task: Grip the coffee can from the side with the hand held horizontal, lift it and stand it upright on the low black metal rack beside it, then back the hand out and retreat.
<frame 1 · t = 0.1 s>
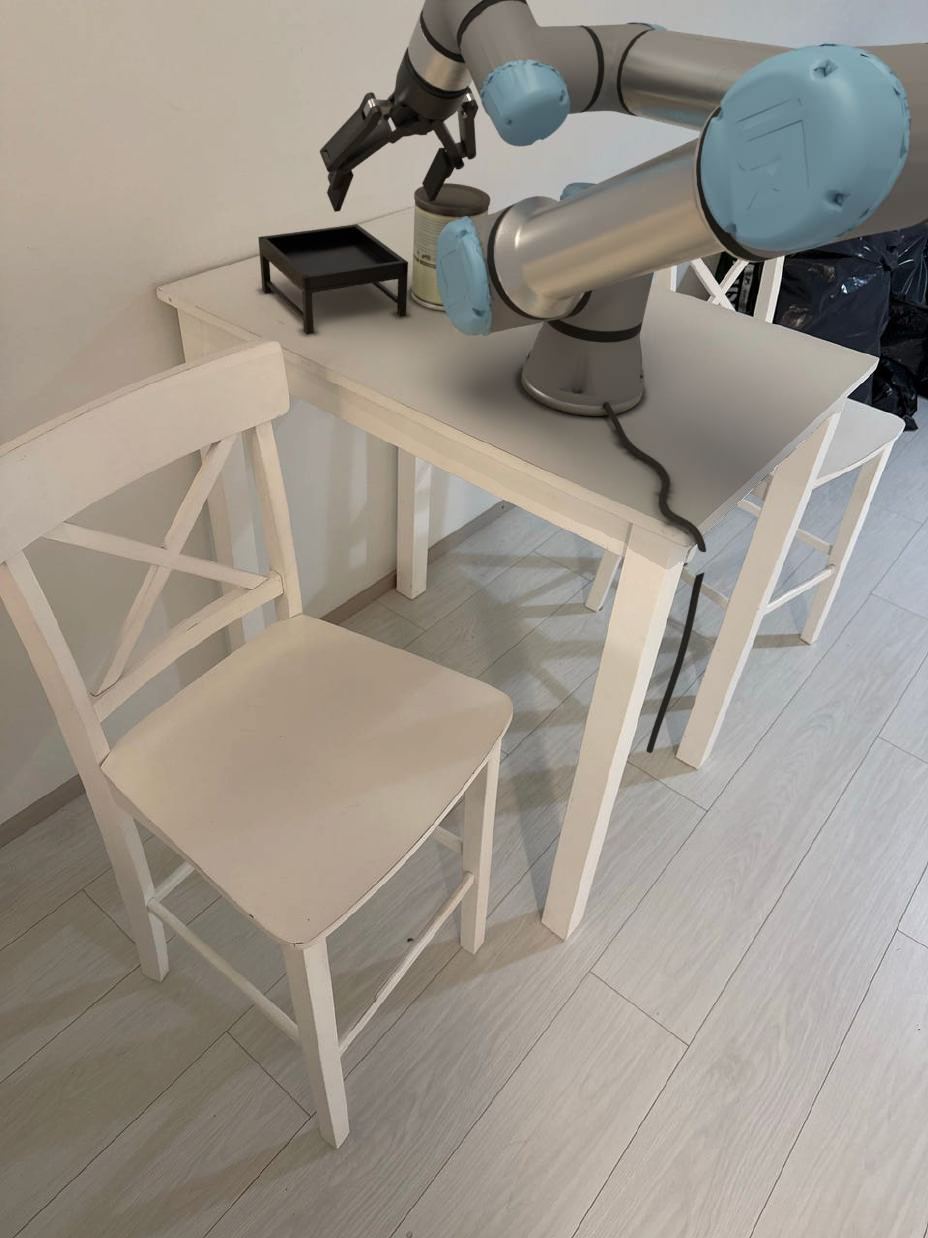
hand: (381, 196, 116), 15 cm above the table, tool tilted 35°, fingers open, 13 cm apart
coffee can: (445, 298, 132), on the table
rack: (333, 303, 127), on the table
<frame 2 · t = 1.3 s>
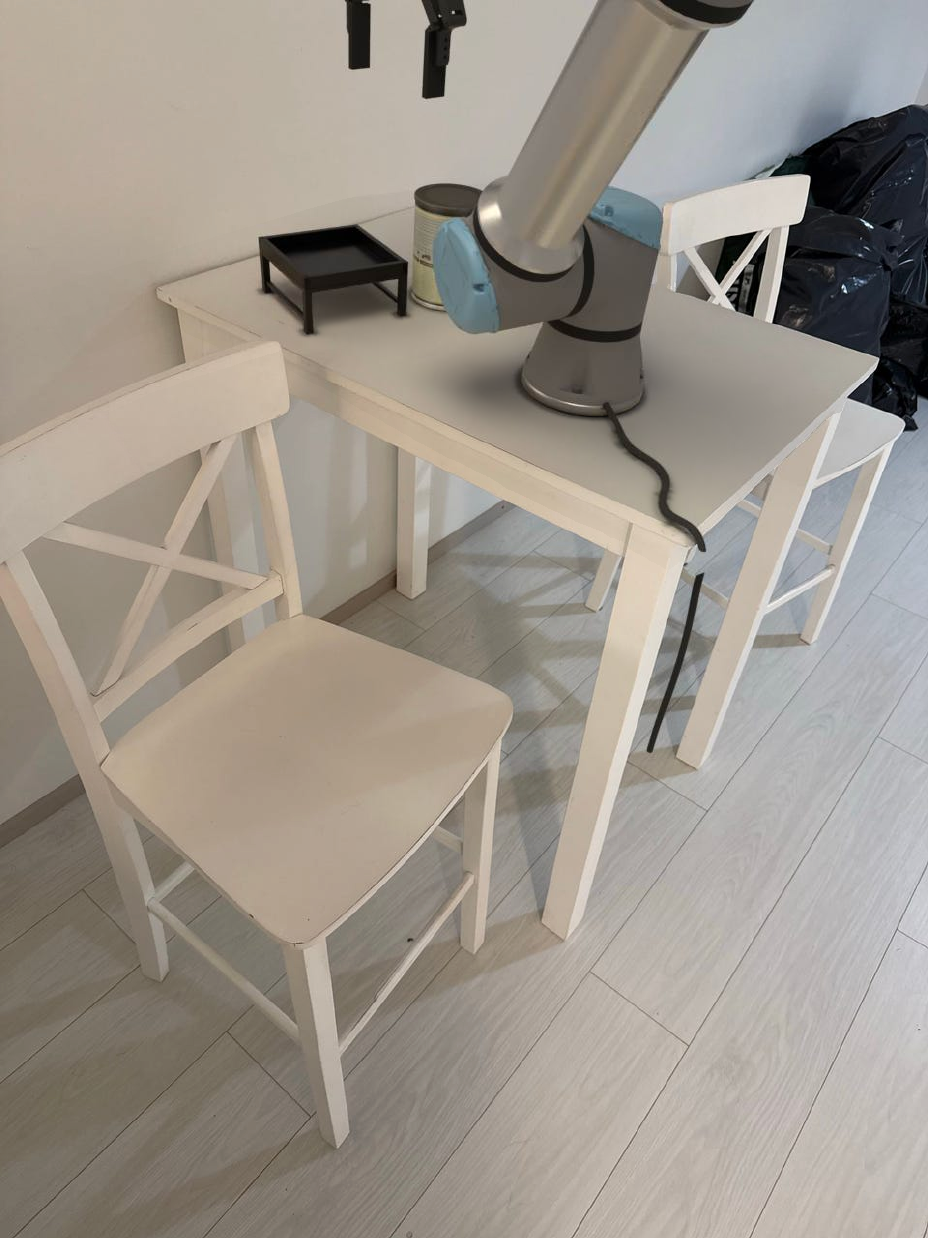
hand: (395, 82, 106), 29 cm above the table, tool pointing down, fingers open, 13 cm apart
nothing on the table moved.
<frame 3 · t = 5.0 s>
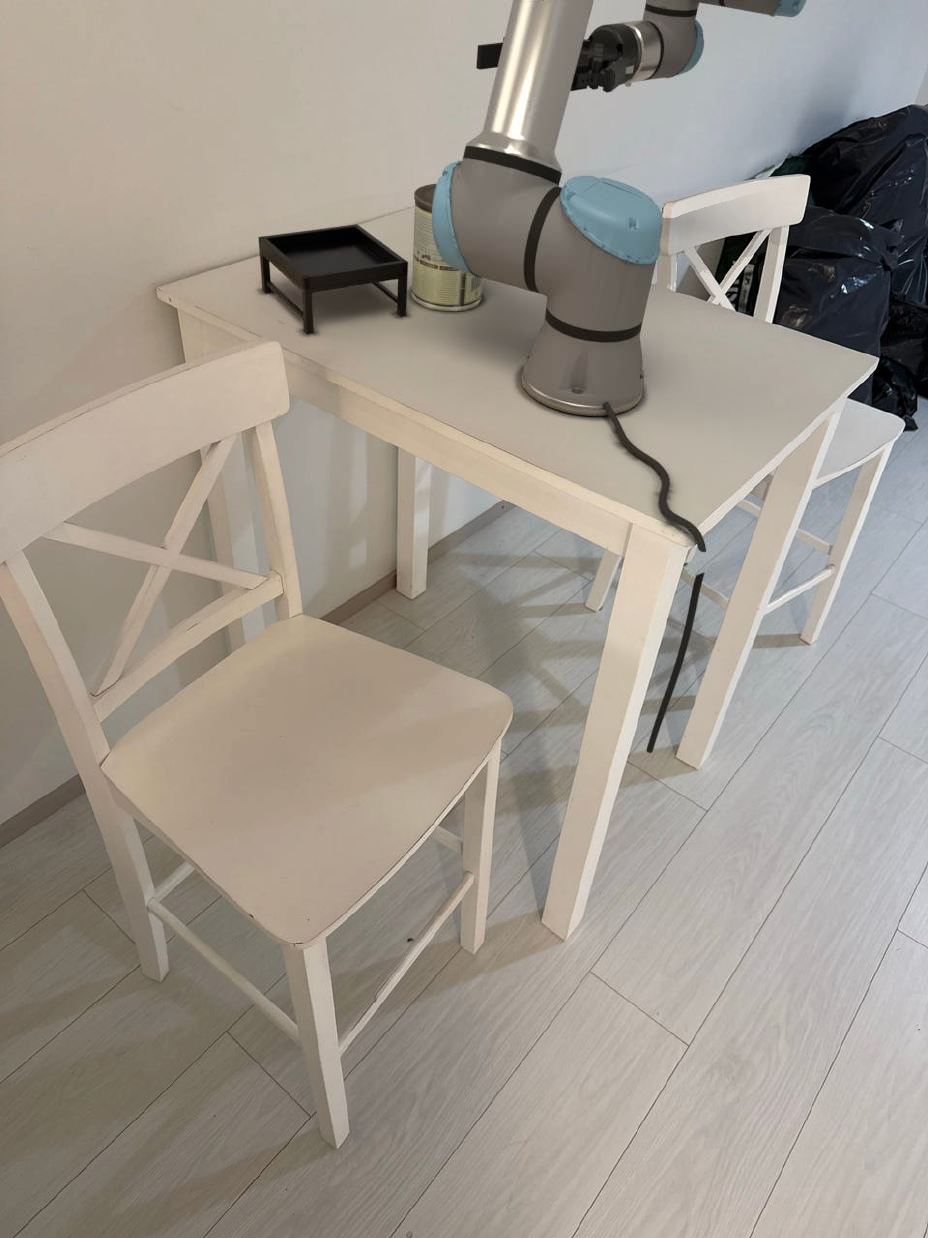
hand: (514, 68, 118), 28 cm above the table, tool horizontal, fingers open, 13 cm apart
nothing on the table moved.
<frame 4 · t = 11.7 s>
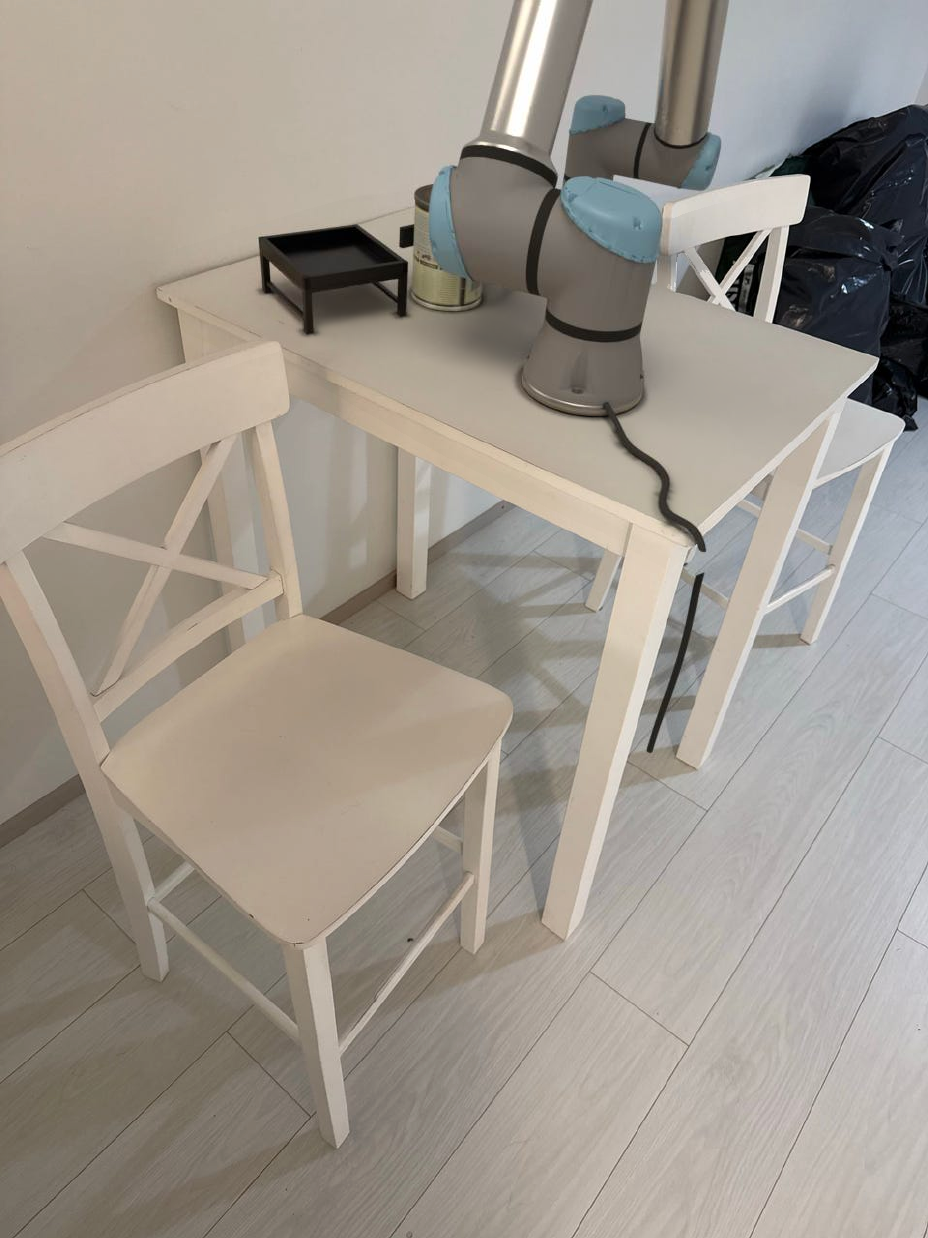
hand: (425, 250, 124), 7 cm above the table, tool horizontal, fingers closed on coffee can, 10 cm apart
coffee can: (445, 298, 132), on the table, touching gripper
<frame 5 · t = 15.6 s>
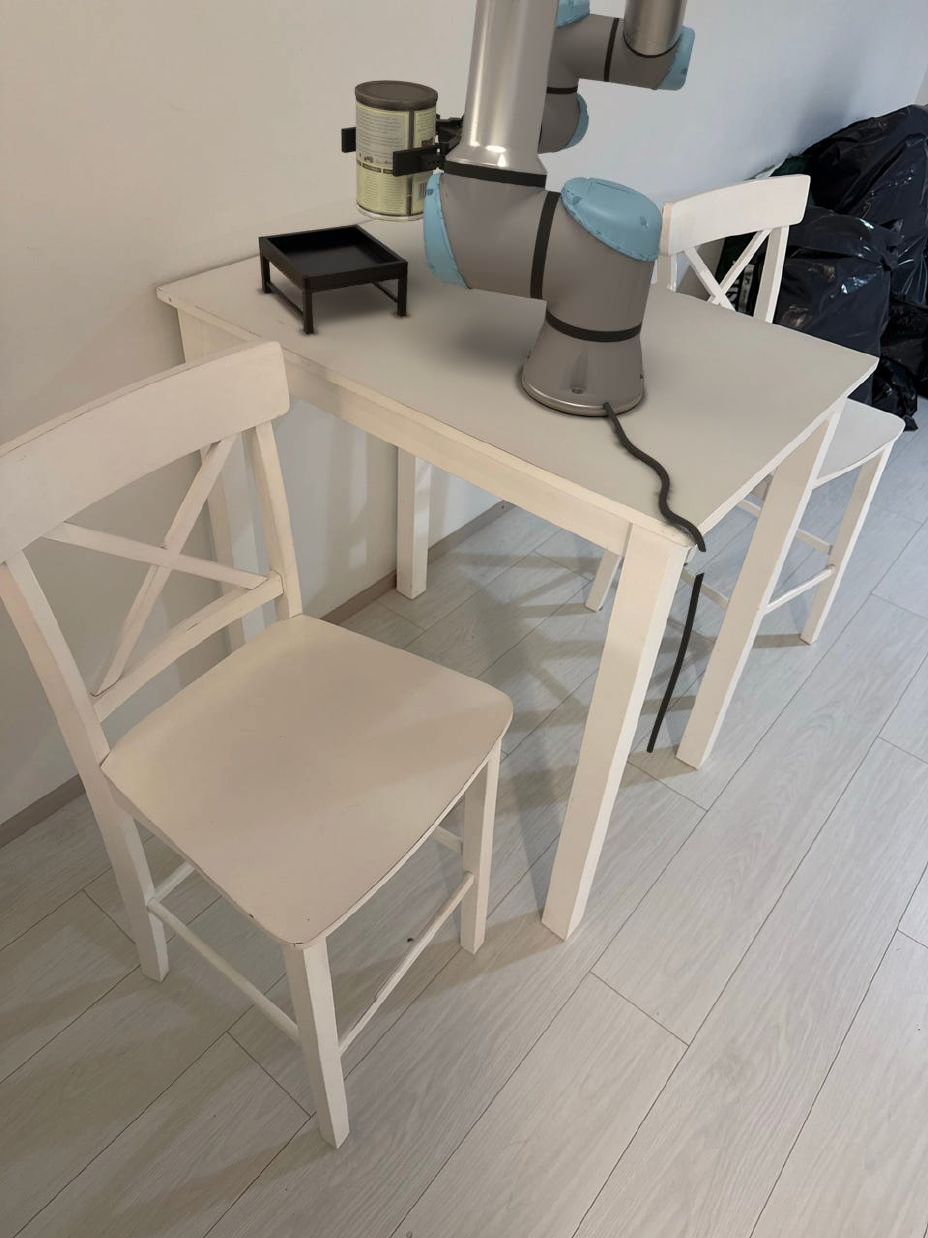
hand: (368, 152, 114), 20 cm above the table, tool horizontal, fingers closed on coffee can, 10 cm apart
coffee can: (393, 210, 121), point 12 cm above the table, touching gripper
when the fingers open (13 cm above the table, at t = 19.3 s): coffee can stays where it is, resting on rack.
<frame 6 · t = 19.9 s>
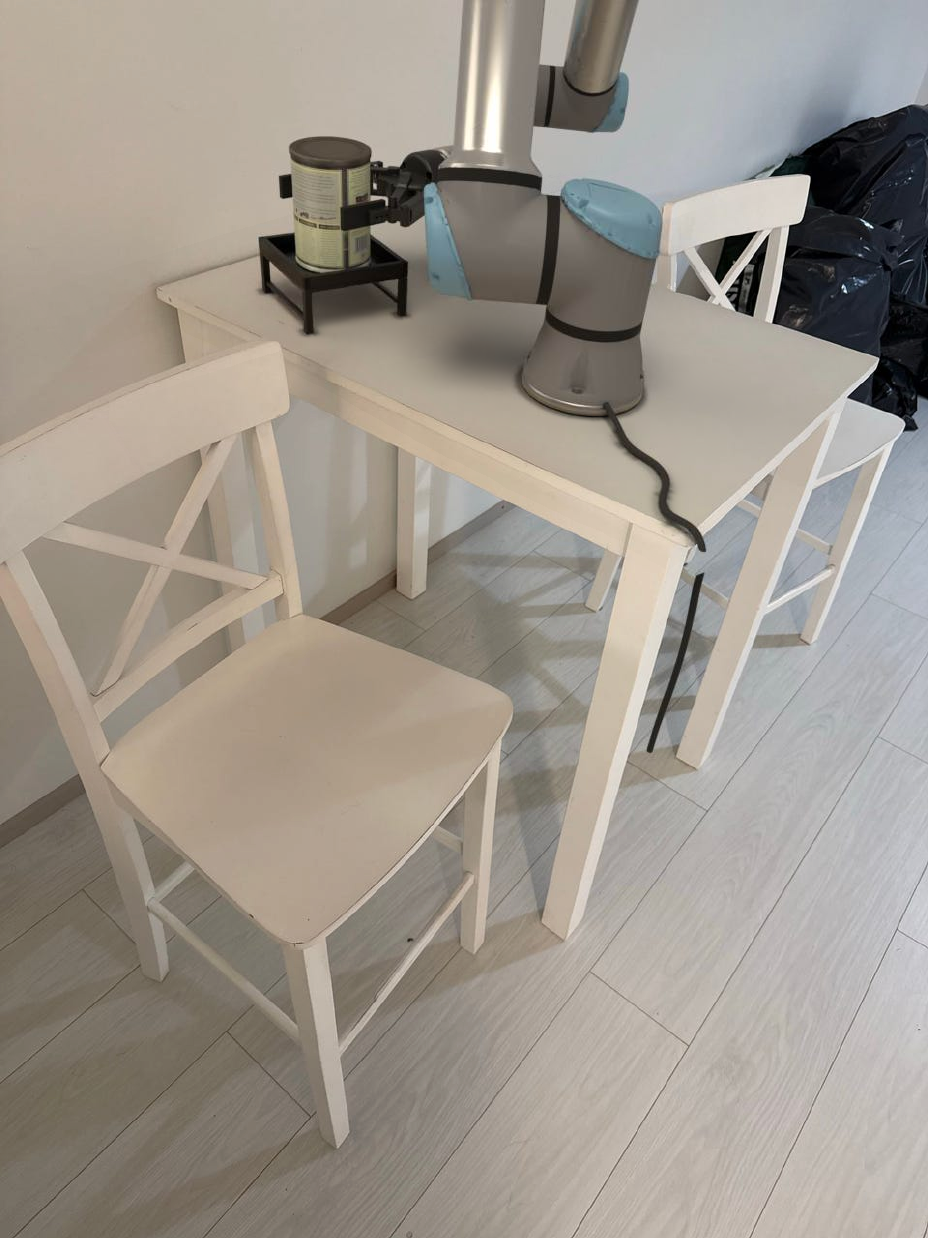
hand: (310, 202, 116), 14 cm above the table, tool horizontal, fingers open, 13 cm apart
coffee can: (332, 261, 123), point 6 cm above the table, touching rack
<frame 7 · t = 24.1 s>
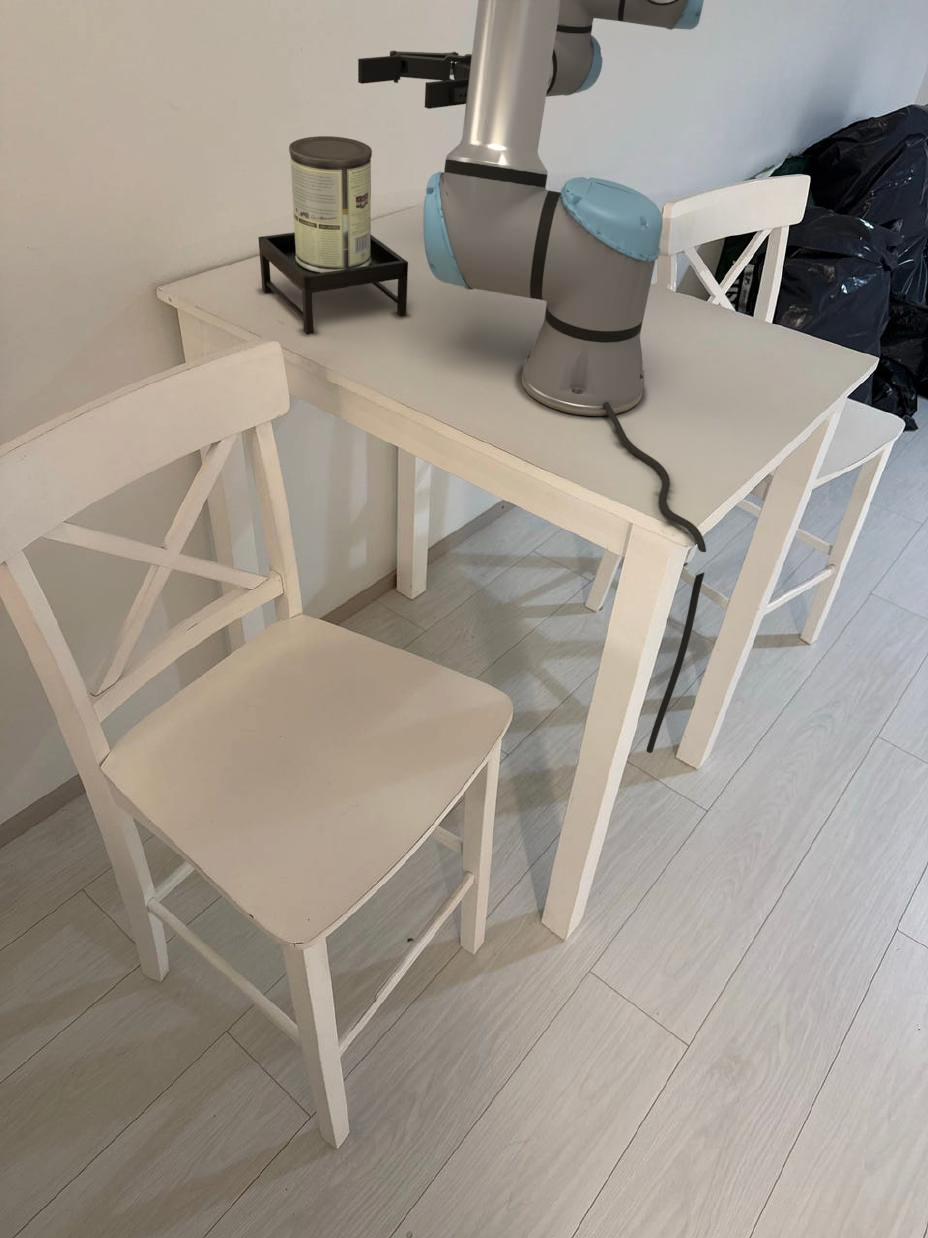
hand: (392, 82, 115), 26 cm above the table, tool horizontal, fingers open, 13 cm apart
nothing on the table moved.
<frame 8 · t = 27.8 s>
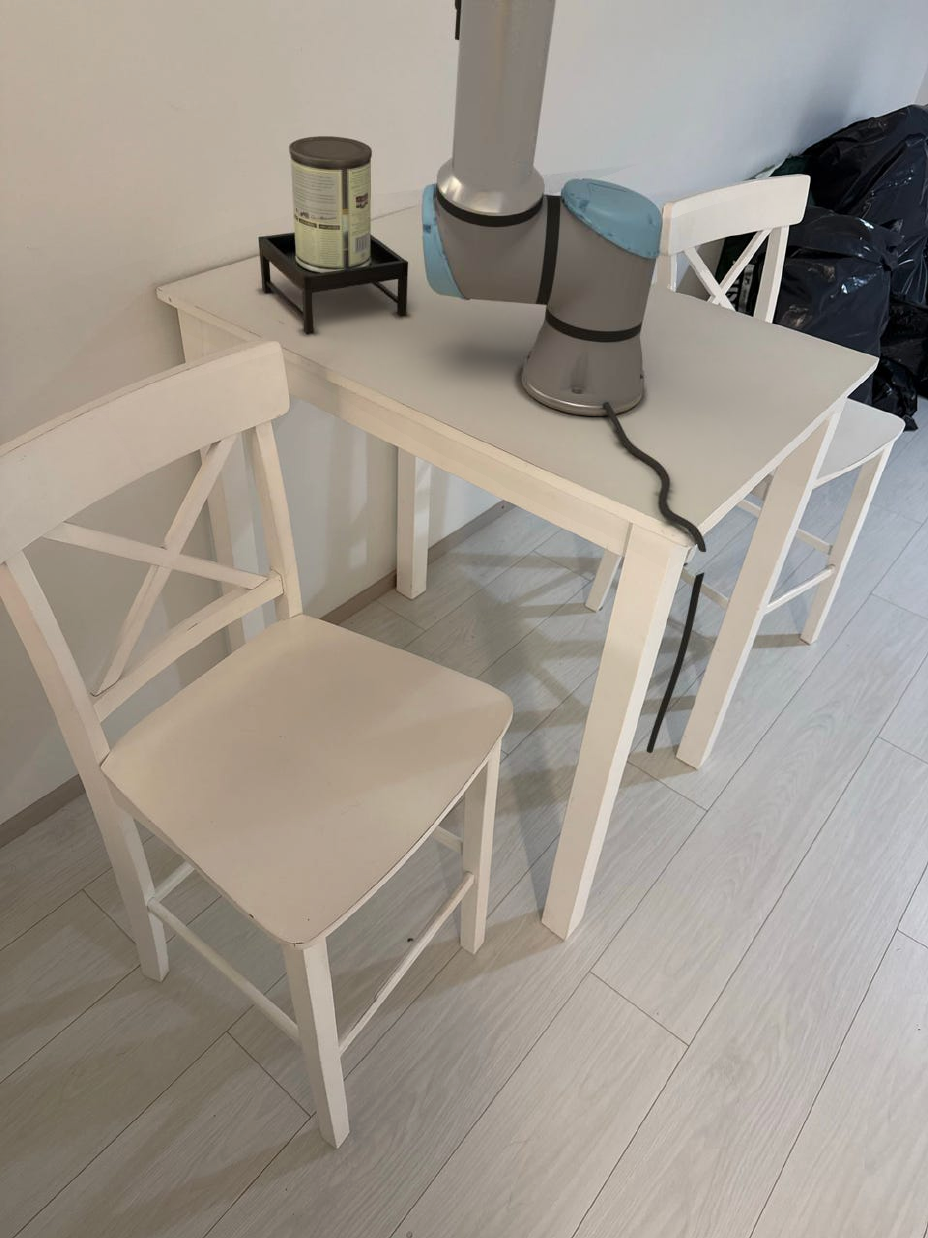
hand: (496, 49, 124), 29 cm above the table, tool pointing down, fingers open, 13 cm apart
nothing on the table moved.
at the end: coffee can 0.1 cm off-centre on the rack, point 5.8 cm above the rack's base; coffee can tilted 0°; the gripper is holding nothing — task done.
